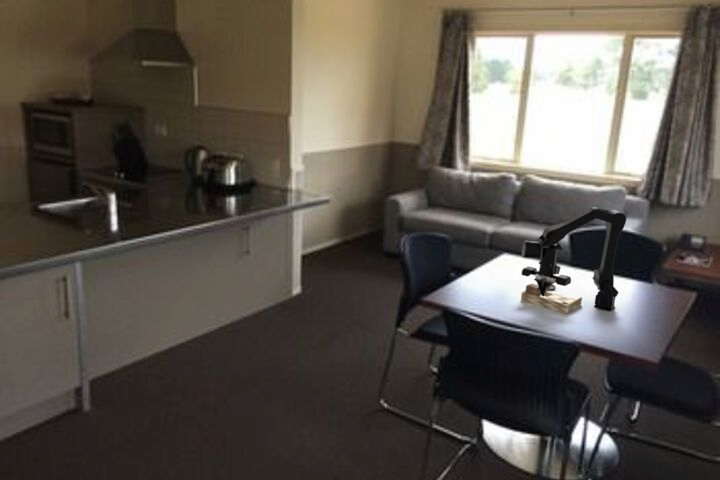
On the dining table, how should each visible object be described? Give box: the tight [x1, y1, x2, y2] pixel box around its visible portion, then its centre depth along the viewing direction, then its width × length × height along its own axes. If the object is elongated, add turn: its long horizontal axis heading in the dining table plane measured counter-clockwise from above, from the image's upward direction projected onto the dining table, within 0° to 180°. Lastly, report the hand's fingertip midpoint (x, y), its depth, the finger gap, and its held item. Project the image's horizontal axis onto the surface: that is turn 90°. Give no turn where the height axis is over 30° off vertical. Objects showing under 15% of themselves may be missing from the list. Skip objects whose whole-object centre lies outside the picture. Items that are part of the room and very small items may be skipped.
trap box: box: [520, 290, 583, 314], centre depth 247 cm, size 20×14×4 cm
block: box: [525, 283, 541, 297], centre depth 248 cm, size 4×4×4 cm
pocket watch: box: [546, 276, 557, 291], centre depth 265 cm, size 8×8×10 cm
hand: (543, 296), depth 246 cm, fingers closed
